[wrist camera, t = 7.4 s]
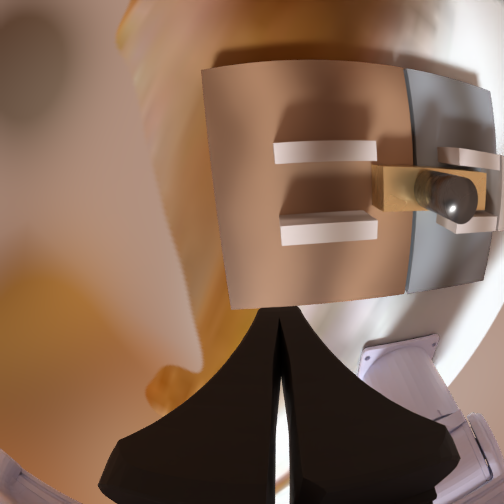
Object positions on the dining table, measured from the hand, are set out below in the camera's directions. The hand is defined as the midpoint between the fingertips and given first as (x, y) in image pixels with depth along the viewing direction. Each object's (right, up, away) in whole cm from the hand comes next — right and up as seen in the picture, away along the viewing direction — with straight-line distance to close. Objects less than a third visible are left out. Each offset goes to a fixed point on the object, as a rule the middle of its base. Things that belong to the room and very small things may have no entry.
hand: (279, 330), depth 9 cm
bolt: (+10, +7, +5) cm, 13 cm away
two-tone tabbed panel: (+7, +7, +7) cm, 12 cm away
